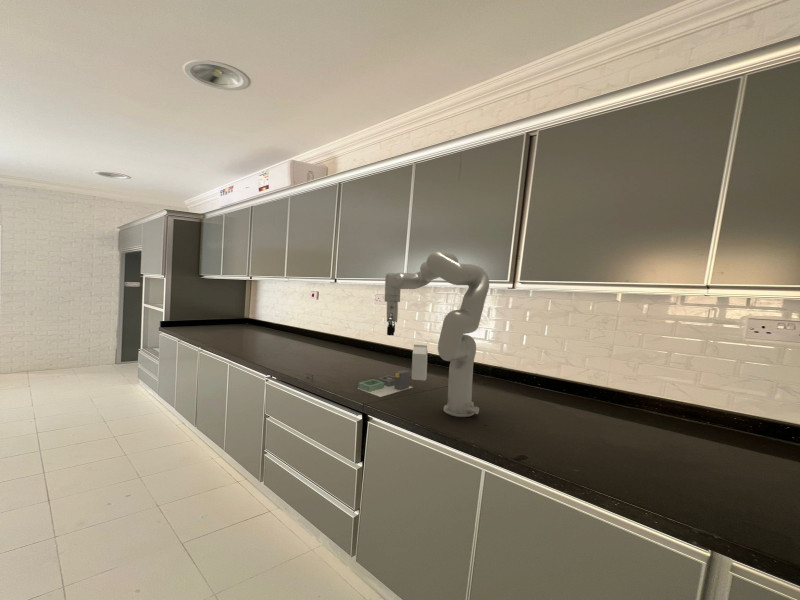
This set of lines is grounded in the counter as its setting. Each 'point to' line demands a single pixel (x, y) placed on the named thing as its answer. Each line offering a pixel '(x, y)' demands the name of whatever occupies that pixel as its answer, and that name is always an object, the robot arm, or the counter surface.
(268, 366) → the counter surface
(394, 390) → the board
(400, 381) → the plug
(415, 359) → the milk carton
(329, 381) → the counter surface
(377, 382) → the green rectangular frame
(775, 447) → the counter surface
